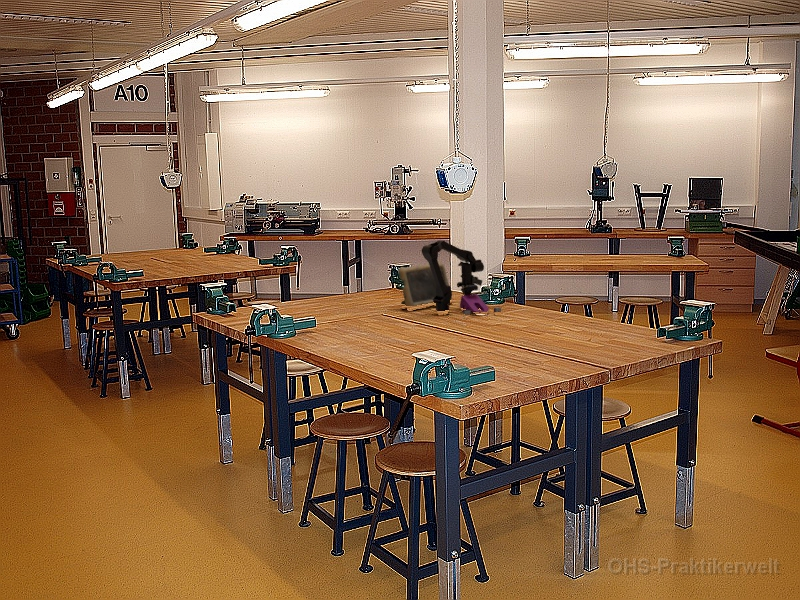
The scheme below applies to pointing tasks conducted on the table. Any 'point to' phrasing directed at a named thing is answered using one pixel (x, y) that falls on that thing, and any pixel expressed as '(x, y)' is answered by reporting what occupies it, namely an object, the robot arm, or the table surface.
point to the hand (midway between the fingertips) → (467, 301)
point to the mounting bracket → (473, 303)
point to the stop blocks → (468, 312)
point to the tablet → (419, 284)
